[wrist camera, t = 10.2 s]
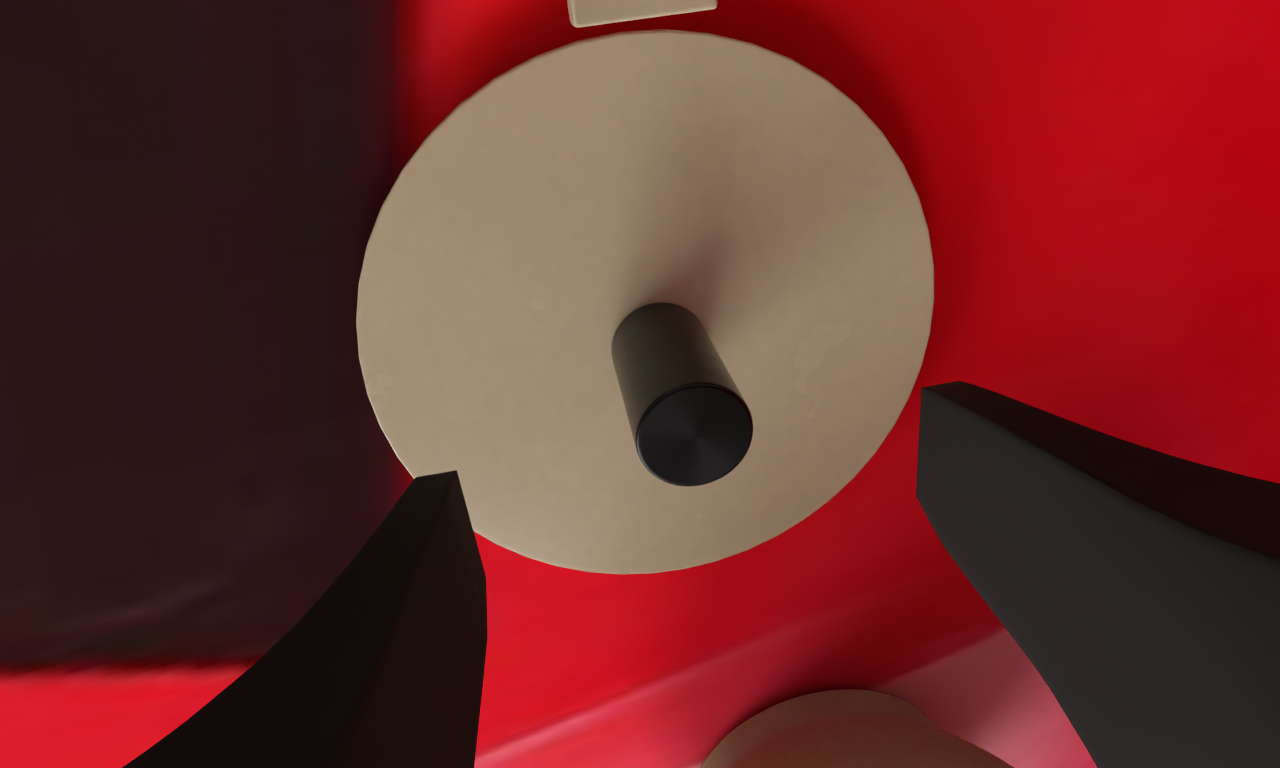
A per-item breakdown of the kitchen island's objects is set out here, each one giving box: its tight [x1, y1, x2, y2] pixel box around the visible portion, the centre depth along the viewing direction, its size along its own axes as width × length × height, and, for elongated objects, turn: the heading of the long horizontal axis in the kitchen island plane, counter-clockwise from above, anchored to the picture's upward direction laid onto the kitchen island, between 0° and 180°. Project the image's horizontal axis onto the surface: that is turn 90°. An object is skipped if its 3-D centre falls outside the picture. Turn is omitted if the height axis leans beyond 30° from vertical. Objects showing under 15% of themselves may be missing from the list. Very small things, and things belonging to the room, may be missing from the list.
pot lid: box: [356, 29, 934, 574], centre depth 18 cm, size 14×14×6 cm
